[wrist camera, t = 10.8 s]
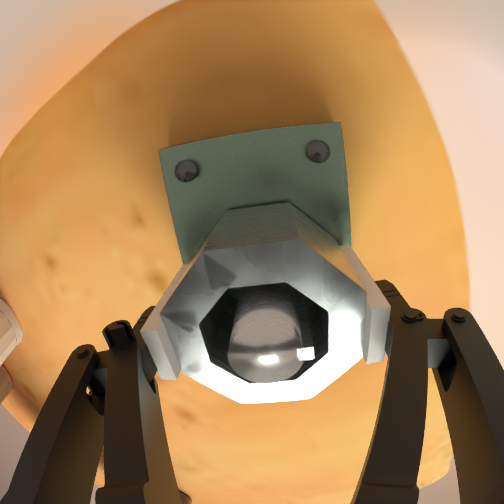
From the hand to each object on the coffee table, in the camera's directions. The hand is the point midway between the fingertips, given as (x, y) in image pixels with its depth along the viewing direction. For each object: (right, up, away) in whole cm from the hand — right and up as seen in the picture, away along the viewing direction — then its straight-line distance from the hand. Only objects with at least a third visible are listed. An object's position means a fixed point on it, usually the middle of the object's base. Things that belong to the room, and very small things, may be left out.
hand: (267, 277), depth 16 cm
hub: (0, 0, 0) cm, 0 cm away
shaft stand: (0, +1, +2) cm, 2 cm away
